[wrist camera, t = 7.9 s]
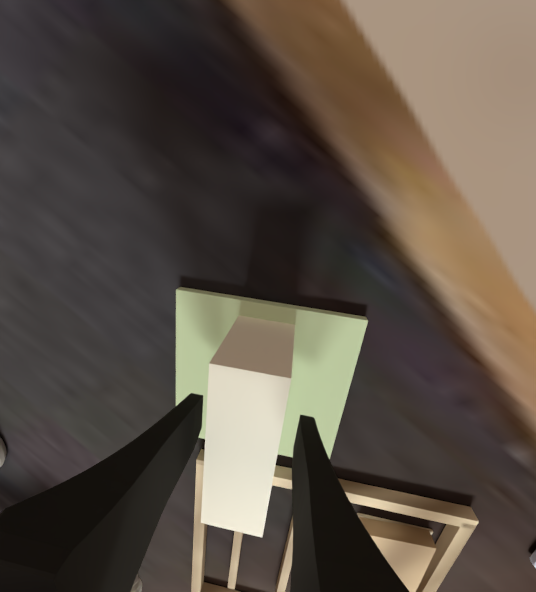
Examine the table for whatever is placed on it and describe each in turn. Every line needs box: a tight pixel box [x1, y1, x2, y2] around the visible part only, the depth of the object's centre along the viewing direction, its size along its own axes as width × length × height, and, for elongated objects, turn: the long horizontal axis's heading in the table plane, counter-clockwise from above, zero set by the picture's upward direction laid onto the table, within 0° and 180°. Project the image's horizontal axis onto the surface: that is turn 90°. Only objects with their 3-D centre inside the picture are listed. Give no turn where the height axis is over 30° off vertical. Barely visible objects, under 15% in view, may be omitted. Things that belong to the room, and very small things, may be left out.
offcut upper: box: [359, 517, 437, 592], centre depth 18 cm, size 5×10×1 cm, turn 176°
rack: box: [191, 449, 479, 592], centre depth 19 cm, size 18×17×1 cm
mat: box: [176, 287, 368, 459], centre depth 15 cm, size 10×10×1 cm
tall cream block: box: [201, 315, 295, 537], centre depth 13 cm, size 3×9×4 cm, turn 173°
